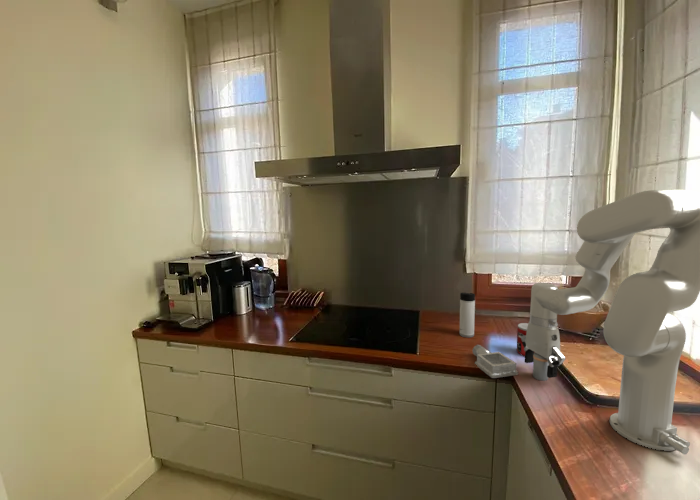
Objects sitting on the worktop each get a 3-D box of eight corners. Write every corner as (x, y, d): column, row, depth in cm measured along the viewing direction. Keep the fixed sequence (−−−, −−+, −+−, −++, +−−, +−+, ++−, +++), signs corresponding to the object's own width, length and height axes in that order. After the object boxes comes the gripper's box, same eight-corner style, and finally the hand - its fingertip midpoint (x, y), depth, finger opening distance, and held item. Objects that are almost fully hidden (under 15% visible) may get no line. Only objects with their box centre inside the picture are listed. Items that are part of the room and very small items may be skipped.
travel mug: (458, 336, 139) (459, 293, 136) (460, 331, 144) (460, 290, 142) (473, 338, 136) (474, 294, 133) (474, 333, 142) (475, 291, 139)
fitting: (518, 374, 106) (518, 362, 105) (492, 378, 104) (492, 366, 103) (488, 354, 121) (489, 343, 121) (465, 356, 119) (466, 346, 119)
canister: (551, 379, 102) (553, 357, 101) (539, 381, 101) (540, 358, 100) (540, 372, 107) (541, 350, 106) (529, 374, 106) (530, 352, 105)
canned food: (518, 347, 127) (519, 321, 125) (541, 352, 122) (542, 325, 120) (514, 354, 121) (515, 327, 119) (538, 359, 116) (539, 331, 114)
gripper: (576, 329, 94) (572, 381, 96) (532, 311, 111) (530, 356, 113) (555, 331, 92) (551, 384, 95) (514, 313, 109) (512, 358, 112)
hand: (539, 369), depth 104 cm, fingers open, 9 cm apart
